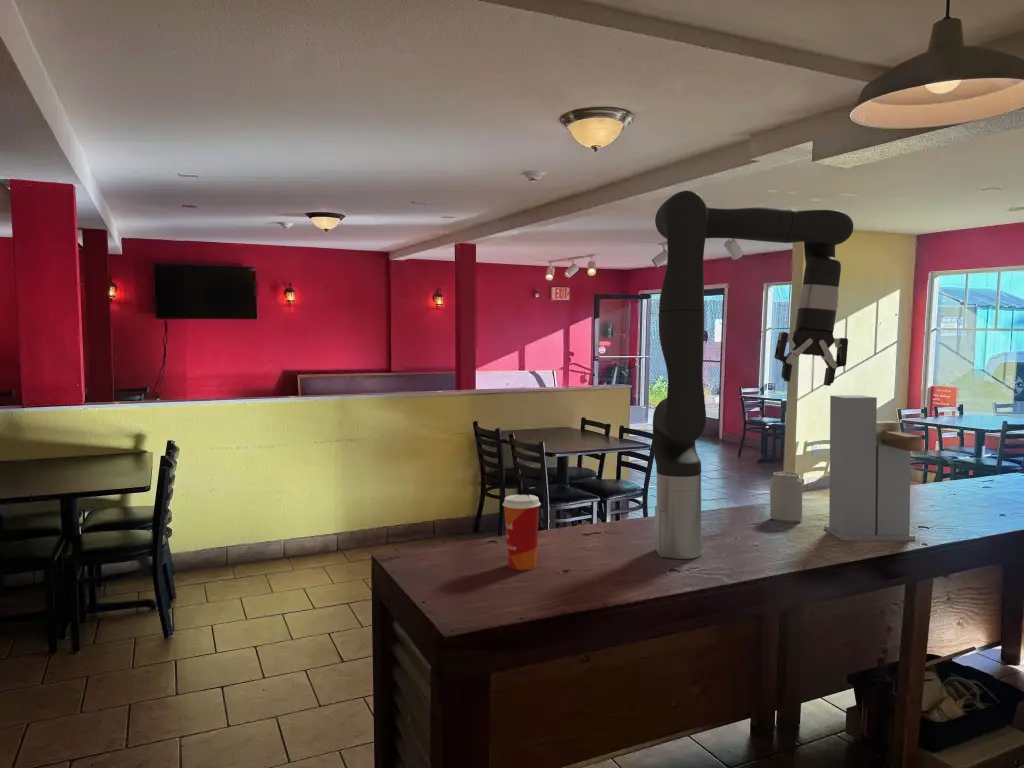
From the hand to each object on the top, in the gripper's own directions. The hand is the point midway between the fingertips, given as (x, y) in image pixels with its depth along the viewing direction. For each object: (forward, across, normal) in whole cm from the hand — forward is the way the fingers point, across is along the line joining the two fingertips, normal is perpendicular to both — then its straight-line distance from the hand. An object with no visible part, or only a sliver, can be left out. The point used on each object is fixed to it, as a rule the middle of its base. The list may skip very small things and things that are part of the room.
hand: (806, 383), depth 152 cm
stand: (+34, -22, -10) cm, 41 cm away
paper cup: (+42, +56, +16) cm, 72 cm away
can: (+36, -8, -23) cm, 44 cm away
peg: (+12, -23, -7) cm, 27 cm away
